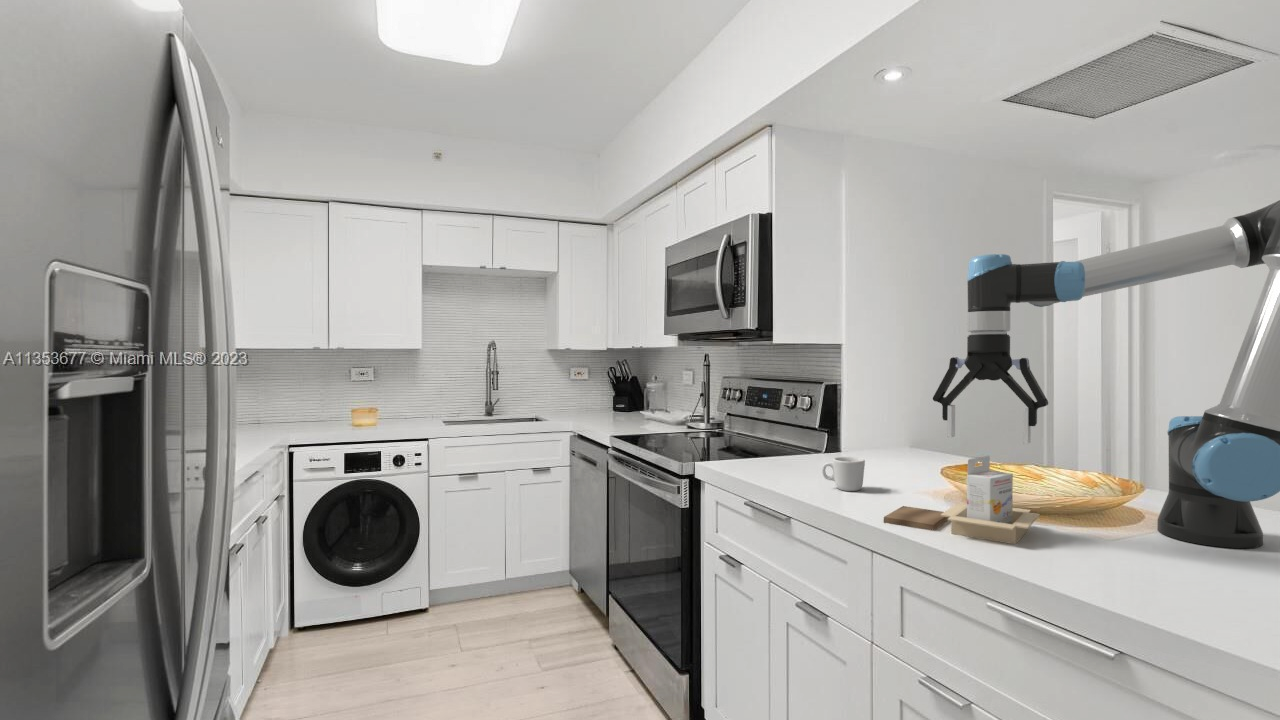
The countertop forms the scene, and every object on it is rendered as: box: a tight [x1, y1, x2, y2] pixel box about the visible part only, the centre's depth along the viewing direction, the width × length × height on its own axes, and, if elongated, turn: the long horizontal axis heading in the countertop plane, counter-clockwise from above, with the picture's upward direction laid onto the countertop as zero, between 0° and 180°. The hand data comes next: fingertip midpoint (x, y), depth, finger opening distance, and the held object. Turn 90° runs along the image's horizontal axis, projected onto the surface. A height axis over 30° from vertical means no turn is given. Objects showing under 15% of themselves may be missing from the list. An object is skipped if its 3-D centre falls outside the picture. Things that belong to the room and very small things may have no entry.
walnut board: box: [883, 505, 949, 531], centre depth 138 cm, size 10×12×1 cm
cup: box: [821, 456, 866, 492], centre depth 169 cm, size 11×8×8 cm
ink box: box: [966, 455, 1014, 524], centre depth 129 cm, size 8×5×15 cm, turn 123°
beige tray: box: [941, 502, 1041, 545], centre depth 129 cm, size 15×17×4 cm
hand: (987, 439), depth 129 cm, fingers open, 13 cm apart
